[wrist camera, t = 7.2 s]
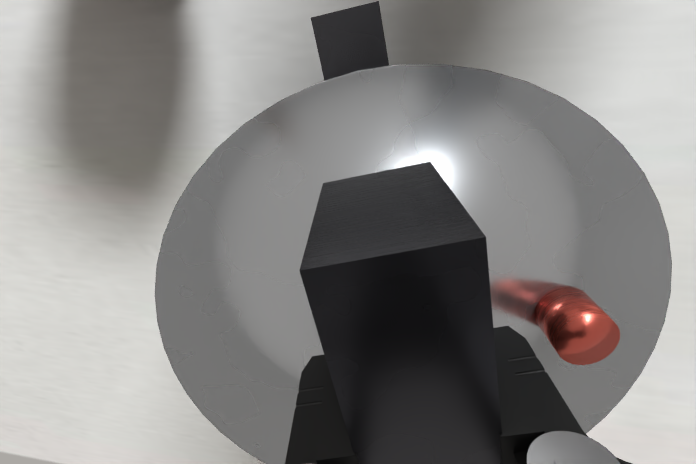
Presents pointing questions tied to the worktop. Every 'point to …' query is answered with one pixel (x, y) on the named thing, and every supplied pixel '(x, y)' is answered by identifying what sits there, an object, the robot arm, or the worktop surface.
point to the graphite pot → (350, 40)
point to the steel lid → (411, 262)
